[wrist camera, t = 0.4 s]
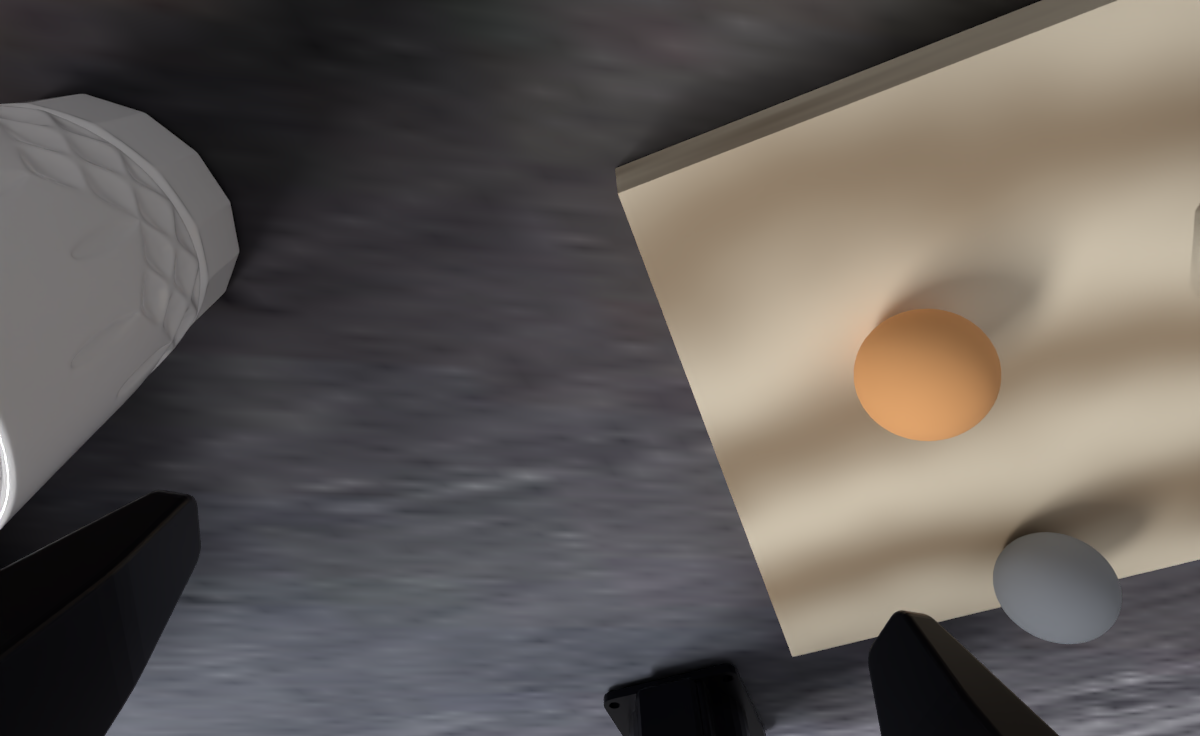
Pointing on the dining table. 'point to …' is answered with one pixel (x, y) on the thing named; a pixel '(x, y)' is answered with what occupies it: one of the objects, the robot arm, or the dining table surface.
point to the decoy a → (1057, 588)
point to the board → (948, 307)
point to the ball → (927, 374)
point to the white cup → (94, 271)
